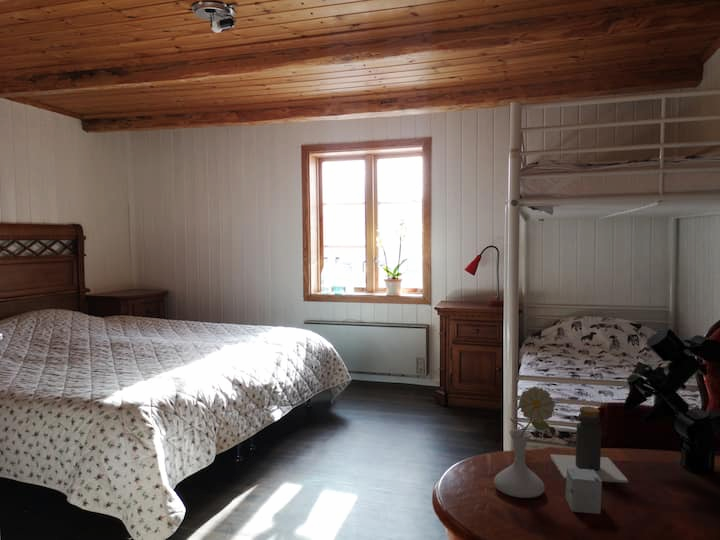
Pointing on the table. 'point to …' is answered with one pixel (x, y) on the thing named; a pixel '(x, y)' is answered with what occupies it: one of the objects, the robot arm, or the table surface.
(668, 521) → the table surface
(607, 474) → the letter card
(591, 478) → the skincare box
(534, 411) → the flower in vase
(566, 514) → the table surface
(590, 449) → the bottle
